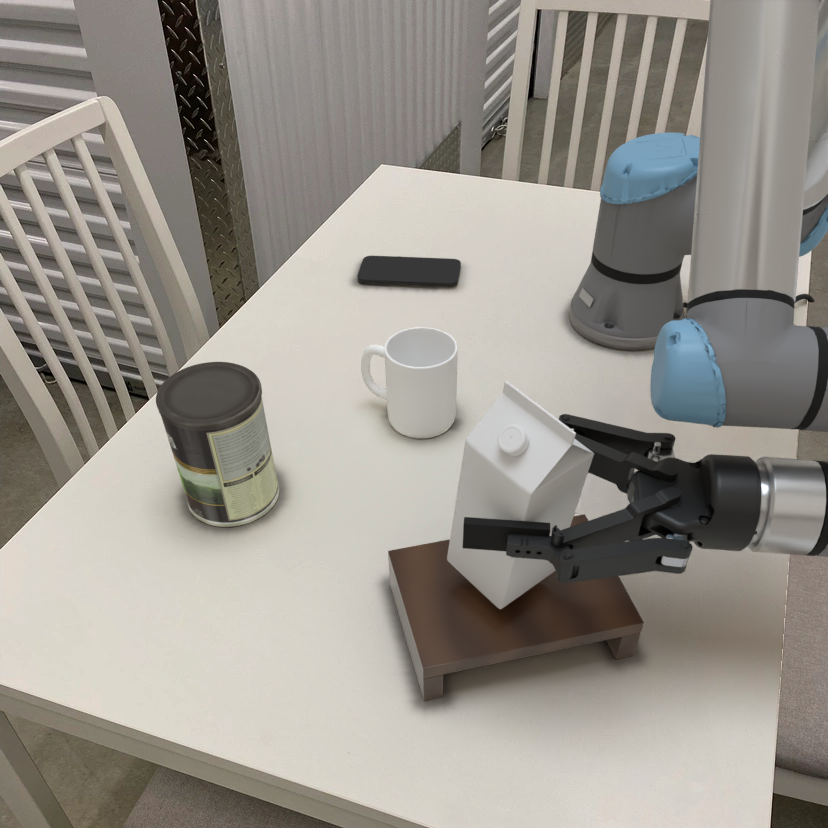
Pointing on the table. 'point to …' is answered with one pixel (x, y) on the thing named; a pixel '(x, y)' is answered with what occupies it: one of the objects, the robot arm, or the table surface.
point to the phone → (409, 271)
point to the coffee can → (220, 442)
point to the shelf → (499, 616)
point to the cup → (417, 380)
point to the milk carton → (515, 489)
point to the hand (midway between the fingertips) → (468, 486)
